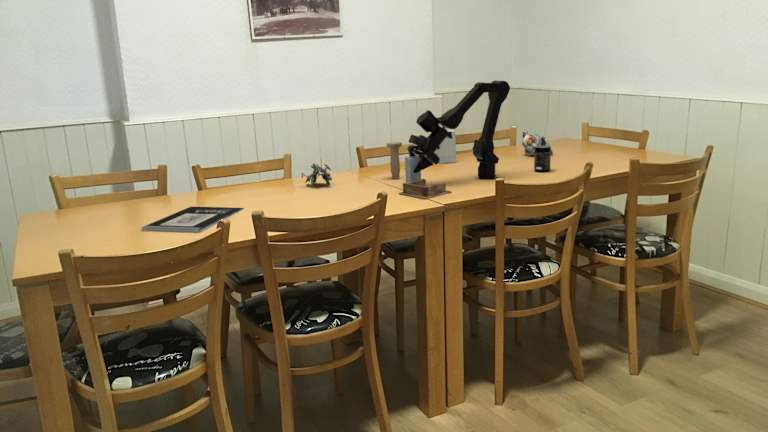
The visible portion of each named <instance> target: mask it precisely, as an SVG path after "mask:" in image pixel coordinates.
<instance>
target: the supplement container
mask: <svg viewBox="0 0 768 432" xmlns="http://www.w3.org/2000/svg"><path fill="white" fill-rule="evenodd" d="M551 150H552V146H551V145H550V146H546V145H540V146H535V147H534V155H533V156H534V159H533V160H534V161H533V162H534V164H533V166H534V167H533V170H534V172H536V173H548V172H550V171H551V155H552V154H551Z"/></svg>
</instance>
